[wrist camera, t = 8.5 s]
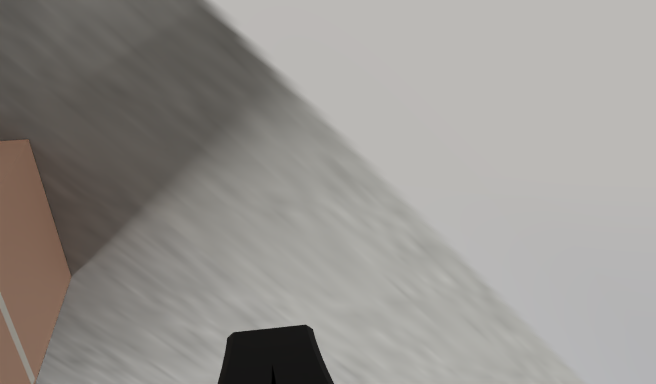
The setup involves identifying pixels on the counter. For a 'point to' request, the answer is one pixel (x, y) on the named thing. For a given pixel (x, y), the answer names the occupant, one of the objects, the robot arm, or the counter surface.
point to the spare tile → (27, 266)
